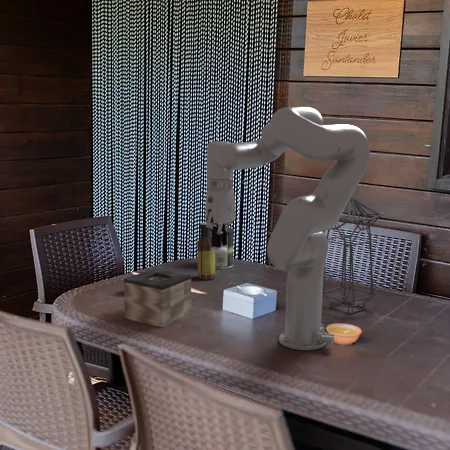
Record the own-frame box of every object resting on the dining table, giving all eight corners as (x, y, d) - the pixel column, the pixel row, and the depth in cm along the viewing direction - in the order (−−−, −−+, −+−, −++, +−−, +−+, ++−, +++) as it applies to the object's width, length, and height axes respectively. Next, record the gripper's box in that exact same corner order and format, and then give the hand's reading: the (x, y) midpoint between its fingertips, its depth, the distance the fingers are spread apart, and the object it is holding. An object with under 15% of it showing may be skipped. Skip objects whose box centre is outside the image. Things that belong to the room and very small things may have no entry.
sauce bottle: (218, 277, 246) (219, 222, 242) (208, 281, 240) (209, 225, 236) (203, 274, 249) (203, 220, 245) (193, 278, 244) (193, 223, 240)
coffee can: (224, 261, 268) (225, 225, 266) (238, 267, 260) (239, 230, 257) (201, 264, 263) (201, 228, 260) (214, 270, 255) (215, 233, 252)
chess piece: (225, 253, 201) (225, 219, 199) (209, 252, 202) (209, 219, 200) (228, 249, 206) (229, 216, 204) (212, 248, 207) (213, 215, 205)
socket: (191, 314, 206) (191, 275, 204) (162, 327, 195) (162, 286, 192) (154, 305, 214) (153, 268, 211) (124, 318, 202) (124, 278, 200)
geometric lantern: (350, 320, 203) (352, 203, 196) (311, 307, 215) (312, 197, 208) (383, 308, 213) (387, 197, 206) (344, 297, 225) (346, 191, 218)
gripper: (215, 188, 192) (215, 252, 195) (244, 182, 205) (244, 242, 209) (193, 186, 196) (193, 249, 199) (223, 180, 209) (223, 239, 212)
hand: (219, 245), depth 204 cm, fingers closed on chess piece
